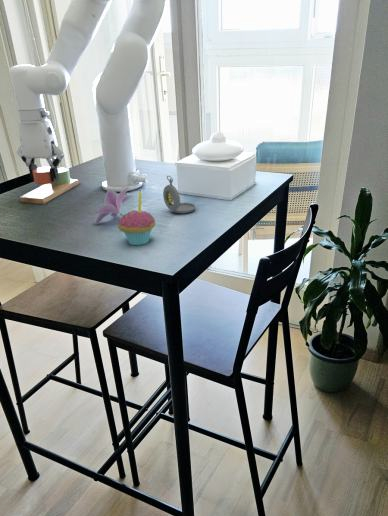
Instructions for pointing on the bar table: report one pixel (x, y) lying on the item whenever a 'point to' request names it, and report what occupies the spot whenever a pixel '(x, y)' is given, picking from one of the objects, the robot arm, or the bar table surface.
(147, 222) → the cupcake
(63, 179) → the sage disc
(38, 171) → the terracotta disc
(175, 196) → the pocket watch
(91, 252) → the bar table surface
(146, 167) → the bar table surface
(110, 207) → the lily
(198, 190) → the butter dish
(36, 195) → the board
